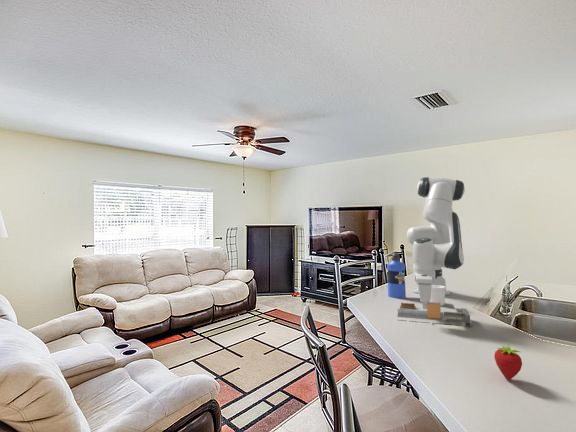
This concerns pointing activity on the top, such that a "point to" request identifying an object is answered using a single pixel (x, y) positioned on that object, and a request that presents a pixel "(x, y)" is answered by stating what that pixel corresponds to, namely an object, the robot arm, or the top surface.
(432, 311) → the orange notched block
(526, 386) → the top surface
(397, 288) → the water bottle
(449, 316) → the rail
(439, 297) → the white cup
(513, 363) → the strawberry
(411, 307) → the pad
